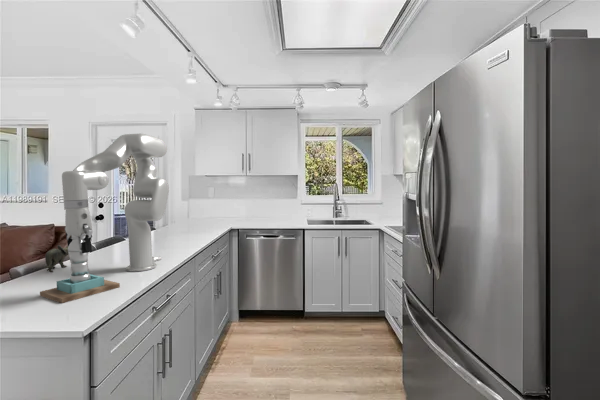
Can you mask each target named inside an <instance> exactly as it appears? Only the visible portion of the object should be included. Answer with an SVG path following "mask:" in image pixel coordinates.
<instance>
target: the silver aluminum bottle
mask: <svg viewBox="0 0 600 400" xmlns="http://www.w3.org/2000/svg"><path fill="white" fill-rule="evenodd" d="M71 239H72V242H71V243H70V244H69V246H68V245H67V246H68V253H69V255H68V256H69V262H70V283H71V284H75V283H79V282H83V281H87V280H91V277H90V274H91V273H90V269H89V262H88V261H89V259H88V257H89V252H88V253H82V248H81V242H82V240H81V238H80V237H77V236H73V235H72V238H71Z"/></svg>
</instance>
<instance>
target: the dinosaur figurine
mask: <svg viewBox="0 0 600 400" xmlns="http://www.w3.org/2000/svg"><path fill="white" fill-rule="evenodd" d="M67 256H69V253H68V245H67V246H66V247H63V246H61V245H59V244H58V245H57V248H51V249H50V250H48V251H47V252H45V256H44V257H45V258H44V259H45V264H46V266H43V267H42V268H43V269H46V271H48V273H54V271H53V269H55V268H56V265H57V264H59V265H60V268H61V269H64V268H67V267H68V266H67V265H65V264H64V261H65V258H66V257H67Z"/></svg>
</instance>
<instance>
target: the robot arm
mask: <svg viewBox="0 0 600 400" xmlns="http://www.w3.org/2000/svg"><path fill="white" fill-rule="evenodd" d="M167 147H168V146H167V144H166V142H165V141H164V140H163V139H161V138H159V137H155V136H152V135H149V134H146V133H124V134H121V135H120V136H118V137H117V138H116V139H115V140H114V141H113V142H112V143H111V144H109V146H108V147H107V148H106V149H105V150H103V151H102V152H100V153H98V154H96V155H93V156H91V157H89V158H87V159H85V160H84V161H82V162H81V163H79V164H78V165H77V166H75V168H74V169H72V170H67V171H64V172H62V174H61V183H62V184H61V185H62V195H63V199H62V200H63V207H64V208H63V209H64V210H65V214H64V215H65V227H64V230H65V235H66V240H67V246H69V244H70V243H71V242H72V239H71V238H72V235H73V236H77V237H80V238H81V240H82V242H81V248H82V253H88V254H89V253H92V250H93V249H92V238H93V232H94V231H93V223H92V217H91V216H92V215H91V212H90V209H89V208H90V207H89V198H88V196H89V194H88V191H100V190H102V189H105V188H106V187H107V186H108V185H109V181H110V180H109V176H108V175H107V173H106V172H110V171H113V170H115V169H118V168H121V167H122V165H124V163H125V162H126V161H127V160H128V159H129V158H130V157H131V156H132V157H133V159H134V161H135V163H136V166H137V167H136V174H135V178H134V182H133V189H132V191H133V195H134V196H135V197H136V198H139V199H135V200H130V201H128V202H127V203H126V205H125V206H124V216H125V219H126V224H127V234H128V252H129V253H128V254H129V265H127V266H126V268H125V269H126V271H128V272H144V271H149V270H152V269H155V268H156V267H157V264H156V262H159V261H161V260H162V257H161V256H153V249H152V247H153V245H152V230H151V225H150V224H149V223H148V222H149V221H150V222H157V221H160V220H162V219H163V218H164V215H165V212H166V208H167V203H168V198H169V192H170V190H169V188H170V187H169V184H168V181H167V180H166V179H165V178H163V177H157V171H158V170H157V166H156V165H155V163H154V162H153V160H152V159H153V158H154V159H155V158H162V157H164V156H165V155H166V154H167V150H168V148H167ZM140 198H141V199H140Z"/></svg>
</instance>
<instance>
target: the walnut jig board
mask: <svg viewBox="0 0 600 400" xmlns="http://www.w3.org/2000/svg"><path fill="white" fill-rule="evenodd" d="M90 277H91V280H87V281H83V282H79V283H75V284H71V283H70V278H69V277H68V278H66V279H61V280H56V287H54V288H50V289H45V290H42V291H39V297H43V298H45V299H48V300H51V301H54V302H57V303H61V304H65V303H68V302H72V301H75V300H79V299H82V298H86V297H89V296H92V295H93V296H94V295H96V294H100V293H103V292H107V291H111V290H114V289H117V288H120V286H121V284H120V283H119V282H117V281H111V280H108V279H105V277H104V276H100V275H96V274H91V273H90Z"/></svg>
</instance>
